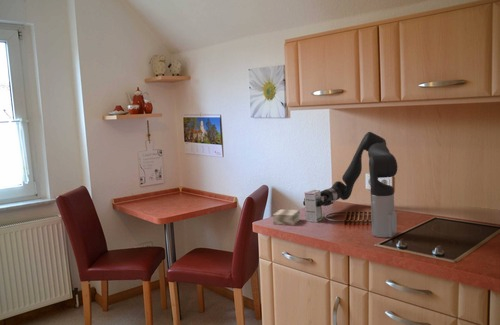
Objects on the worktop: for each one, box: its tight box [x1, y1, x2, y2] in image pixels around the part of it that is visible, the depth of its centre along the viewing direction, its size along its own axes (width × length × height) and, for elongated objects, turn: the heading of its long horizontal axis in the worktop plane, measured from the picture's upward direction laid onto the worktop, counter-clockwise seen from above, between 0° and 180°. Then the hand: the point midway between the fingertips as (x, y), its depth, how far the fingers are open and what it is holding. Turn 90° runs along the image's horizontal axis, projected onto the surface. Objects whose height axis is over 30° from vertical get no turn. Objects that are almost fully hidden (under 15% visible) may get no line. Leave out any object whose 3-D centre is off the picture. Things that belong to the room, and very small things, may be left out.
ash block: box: [272, 208, 301, 226], centre depth 215 cm, size 10×10×5 cm
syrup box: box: [303, 189, 323, 223], centre depth 213 cm, size 6×6×14 cm
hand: (310, 204), depth 211 cm, fingers open, 6 cm apart
